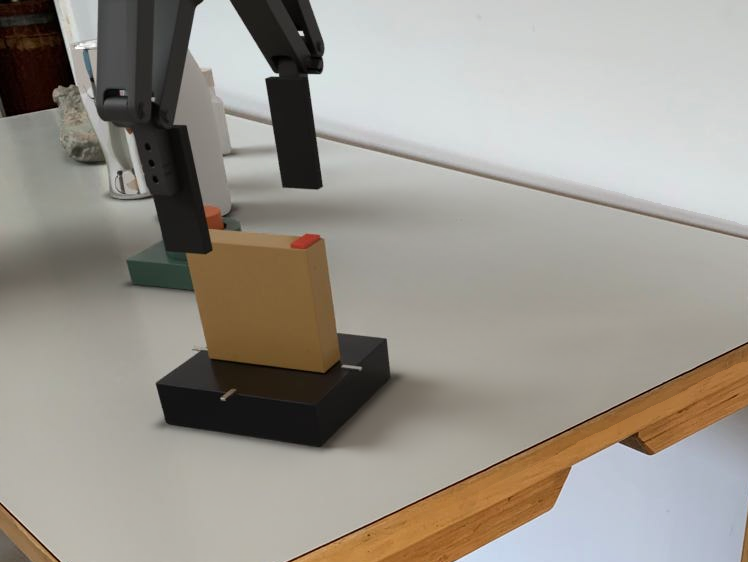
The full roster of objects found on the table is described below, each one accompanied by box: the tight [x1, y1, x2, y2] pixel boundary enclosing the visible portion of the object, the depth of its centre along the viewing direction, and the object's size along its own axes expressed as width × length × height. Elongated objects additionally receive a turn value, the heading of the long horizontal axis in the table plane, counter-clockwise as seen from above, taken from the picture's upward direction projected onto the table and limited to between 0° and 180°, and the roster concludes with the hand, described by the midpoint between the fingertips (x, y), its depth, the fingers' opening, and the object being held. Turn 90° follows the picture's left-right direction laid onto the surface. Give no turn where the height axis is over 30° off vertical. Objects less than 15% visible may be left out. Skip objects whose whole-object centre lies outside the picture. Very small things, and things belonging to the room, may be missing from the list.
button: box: [204, 206, 224, 230], centre depth 88 cm, size 4×4×2 cm
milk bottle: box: [151, 48, 232, 217], centre depth 99 cm, size 8×8×20 cm
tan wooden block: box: [186, 229, 340, 373], centre depth 65 cm, size 9×2×8 cm, turn 69°
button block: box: [125, 216, 243, 291], centre depth 89 cm, size 11×9×4 cm
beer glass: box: [69, 38, 153, 200], centre depth 109 cm, size 7×7×15 cm
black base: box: [155, 332, 391, 448], centre depth 68 cm, size 13×13×3 cm
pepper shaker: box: [200, 67, 232, 156], centre depth 124 cm, size 4×4×10 cm
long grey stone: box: [52, 84, 106, 163], centre depth 136 cm, size 35×5×10 cm
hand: (250, 217), depth 61 cm, fingers open, 13 cm apart
